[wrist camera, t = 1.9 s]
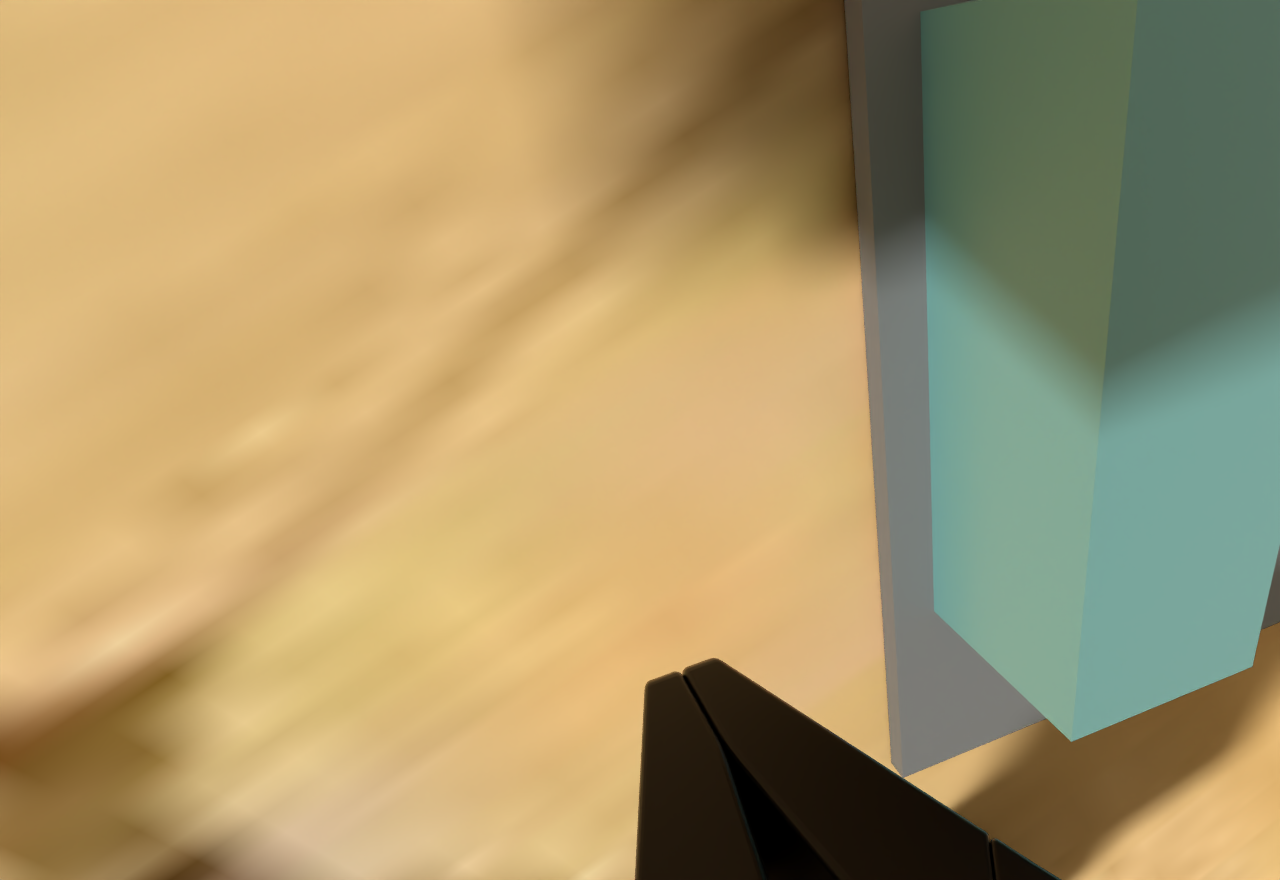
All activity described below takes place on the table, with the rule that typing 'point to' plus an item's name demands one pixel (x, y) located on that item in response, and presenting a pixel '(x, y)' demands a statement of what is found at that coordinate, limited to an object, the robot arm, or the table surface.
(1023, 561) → the t block
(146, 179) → the table surface
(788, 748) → the robot arm
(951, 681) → the mat
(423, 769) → the table surface
